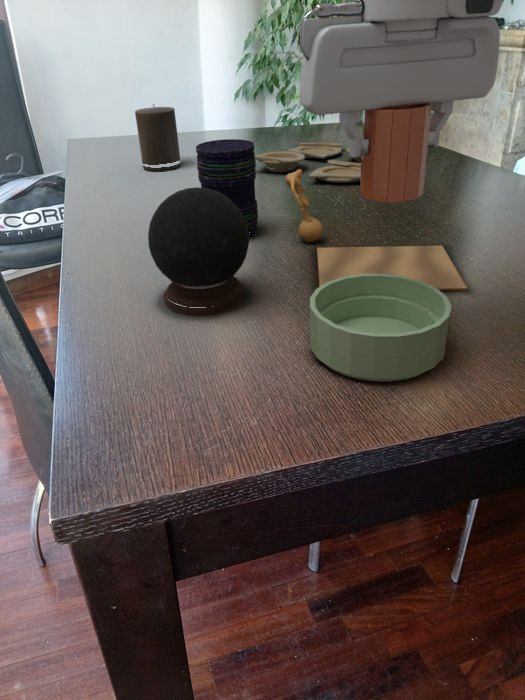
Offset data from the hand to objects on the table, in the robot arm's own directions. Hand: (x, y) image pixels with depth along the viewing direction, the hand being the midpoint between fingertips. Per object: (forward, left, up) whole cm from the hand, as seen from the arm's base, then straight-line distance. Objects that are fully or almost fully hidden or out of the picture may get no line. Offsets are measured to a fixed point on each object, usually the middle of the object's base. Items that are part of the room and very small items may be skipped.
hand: (394, 151), depth 60 cm
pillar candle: (+45, -84, -21) cm, 98 cm away
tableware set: (+3, -81, -21) cm, 84 cm away
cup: (0, 0, -4) cm, 4 cm away
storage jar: (+22, -34, -21) cm, 46 cm away
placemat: (-3, -17, -21) cm, 27 cm away
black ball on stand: (+23, -8, -21) cm, 32 cm away
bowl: (+1, +6, -21) cm, 22 cm away
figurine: (+9, -29, -21) cm, 37 cm away
